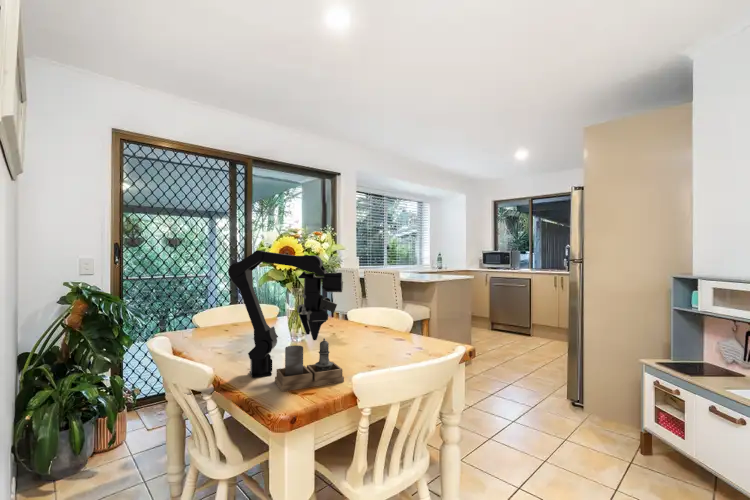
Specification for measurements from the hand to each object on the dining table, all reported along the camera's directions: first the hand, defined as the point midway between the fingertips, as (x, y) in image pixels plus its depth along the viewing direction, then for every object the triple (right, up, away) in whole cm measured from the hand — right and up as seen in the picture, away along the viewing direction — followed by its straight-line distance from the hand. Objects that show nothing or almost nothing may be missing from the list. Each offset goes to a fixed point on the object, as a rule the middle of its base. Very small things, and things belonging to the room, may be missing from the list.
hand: (311, 337), depth 129 cm
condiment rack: (+1, -13, -7) cm, 15 cm away
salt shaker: (+5, -11, -5) cm, 13 cm away
